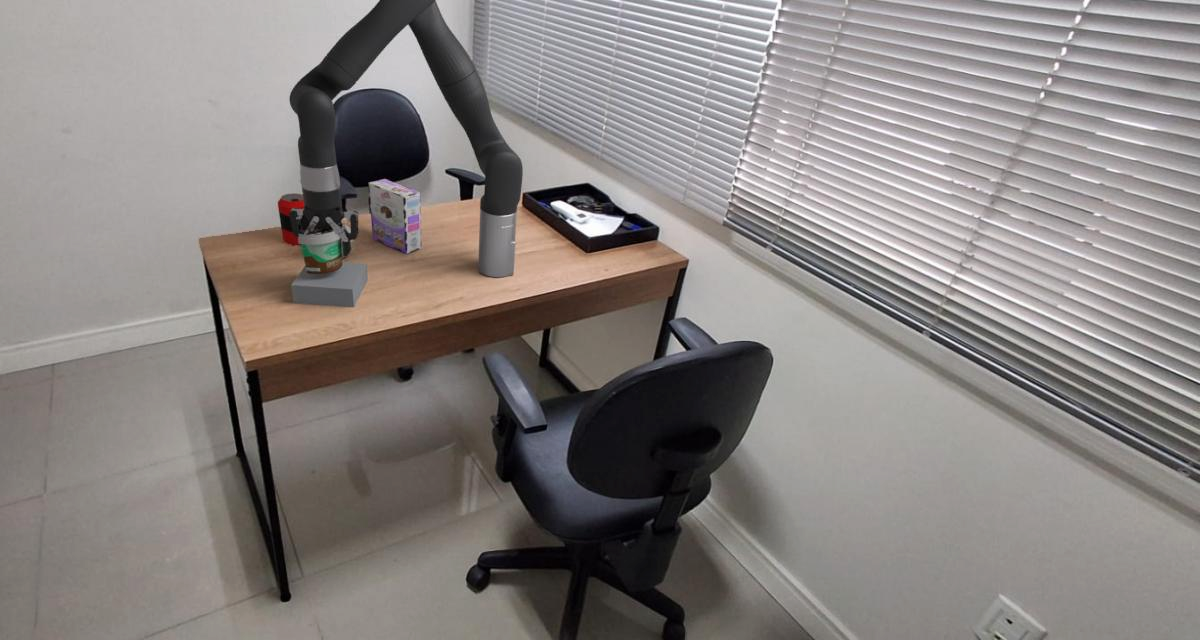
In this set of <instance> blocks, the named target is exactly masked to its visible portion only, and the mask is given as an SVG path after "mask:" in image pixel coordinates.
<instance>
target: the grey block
mask: <svg viewBox="0 0 1200 640" xmlns="http://www.w3.org/2000/svg"><path fill="white" fill-rule="evenodd" d="M367 266H368V265H367V263H364V262H349V261H342V267H341V268H340V269H338V270H337V271H334V272H331V273H327V274H309V273H307V270H306V266H303V268H302V269H301V271H300V272H299V274H298V275H297V276H296V278H295V279H294V280H293V281H292V283H291V285H290V287H291V293H292V294H291V295H292V300H293V304H298V305H301V304H302V305H313V306H315V305H316V306H331V307H343V308H344V307H347V308H355V307H356V304H357V302H358V300H359V299H360V297H361V294H362V292H363V291H364V289H365V287H366V285H367V284H368V281H369V280H368V269H367V268H368V267H367Z"/></svg>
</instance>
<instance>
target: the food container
mask: <svg viewBox="0 0 1200 640" xmlns="http://www.w3.org/2000/svg"><path fill="white" fill-rule="evenodd" d="M340 227H341V226H340ZM298 243H299V244H301V245H300V248H301V252H302V256H303V261H304V265H305V266H306V270H307V273H309V274H327V273H331V272H334V271H337V270H338V269H340V268H341V267H342V262H343V258H342V239H341V237H340V236H339V234H336V232H335V231H334V230H328V229H317V228H314V230H313V231H312V233H310V232H308V233H307V234H305V235H303V234H299V237H298ZM305 266H304V267H305Z"/></svg>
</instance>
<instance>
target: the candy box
mask: <svg viewBox="0 0 1200 640" xmlns="http://www.w3.org/2000/svg"><path fill="white" fill-rule="evenodd" d="M368 194H369V195H368V197H369V209H370V217H371V220H370V221H371V233H372V239H373V240H375V241H376V242H380V243H381V244H383V245H386V246H387V247H390V248H393V249H395V251H399V252H401V253H403V254H406V255H407V254H410V253H413V252H415V251H418V250H421V249H423V248H422V220H421V218H422V217H421V215H422V213H421V209H422V208H421V206H422V205H421V192H420V191H417V190H415V189H412V188H409V187H407V186H404V185H401V184H400V183H397V182H394V181H393V180H392V181H391V180H390V179H386V178H383V179H379V180H374V181H370V182H368Z"/></svg>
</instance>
